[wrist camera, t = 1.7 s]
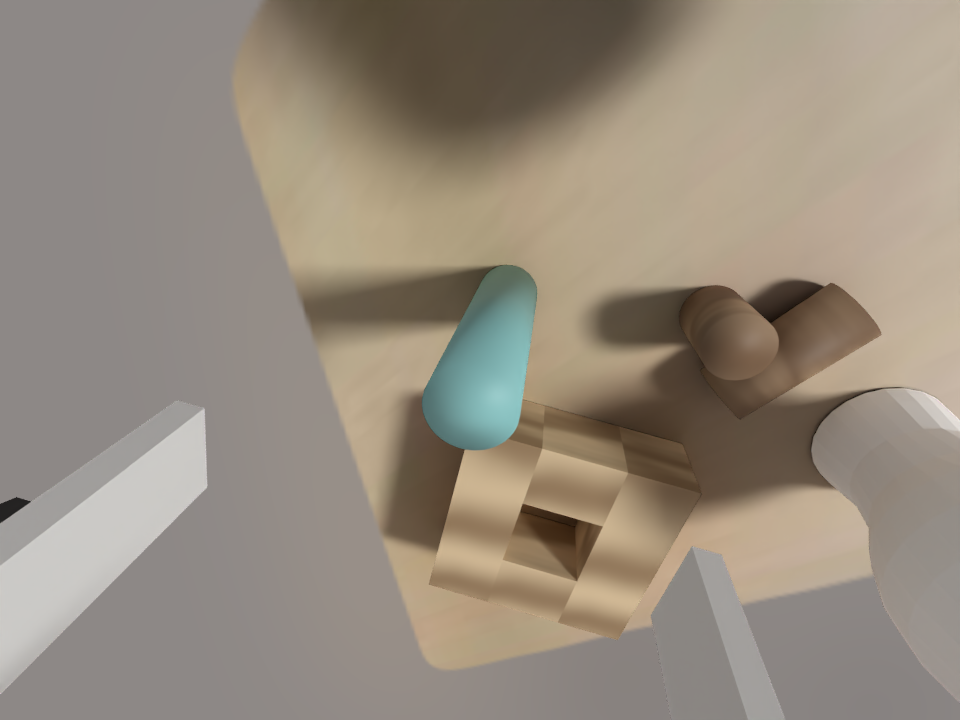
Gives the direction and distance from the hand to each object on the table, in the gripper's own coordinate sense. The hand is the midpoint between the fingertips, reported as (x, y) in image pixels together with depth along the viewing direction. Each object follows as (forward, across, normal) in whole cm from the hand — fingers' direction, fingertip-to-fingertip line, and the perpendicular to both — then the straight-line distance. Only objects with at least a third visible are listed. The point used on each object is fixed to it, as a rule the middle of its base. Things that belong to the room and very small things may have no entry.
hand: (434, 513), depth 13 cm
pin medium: (+18, +14, -2) cm, 23 cm away
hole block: (+19, +7, -14) cm, 25 cm away
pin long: (+19, 0, 0) cm, 19 cm away
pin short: (+19, +12, +2) cm, 23 cm away
